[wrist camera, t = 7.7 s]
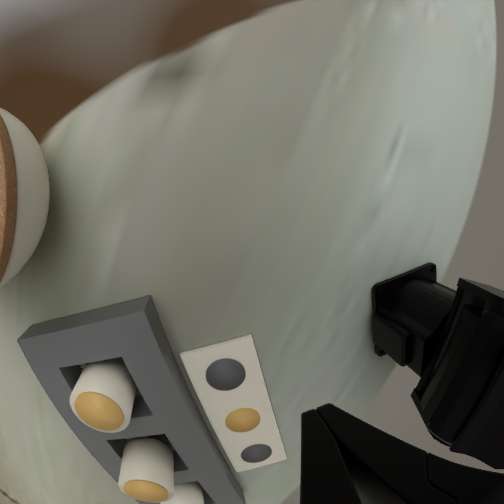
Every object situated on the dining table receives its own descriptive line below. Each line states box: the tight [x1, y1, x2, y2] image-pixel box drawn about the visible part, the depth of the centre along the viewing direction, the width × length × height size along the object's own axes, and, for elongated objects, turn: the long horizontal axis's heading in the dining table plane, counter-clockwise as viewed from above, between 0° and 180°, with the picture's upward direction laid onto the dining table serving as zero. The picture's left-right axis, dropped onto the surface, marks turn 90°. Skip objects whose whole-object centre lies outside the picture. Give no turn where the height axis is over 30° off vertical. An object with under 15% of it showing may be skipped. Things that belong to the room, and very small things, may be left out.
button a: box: [70, 357, 137, 433], centre depth 16 cm, size 4×4×4 cm
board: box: [17, 295, 246, 504], centre depth 19 cm, size 10×24×2 cm, turn 13°
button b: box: [118, 437, 174, 503], centre depth 16 cm, size 4×4×4 cm
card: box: [180, 334, 287, 472], centre depth 21 cm, size 5×15×1 cm, turn 13°
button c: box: [160, 481, 204, 504], centre depth 19 cm, size 4×4×4 cm
